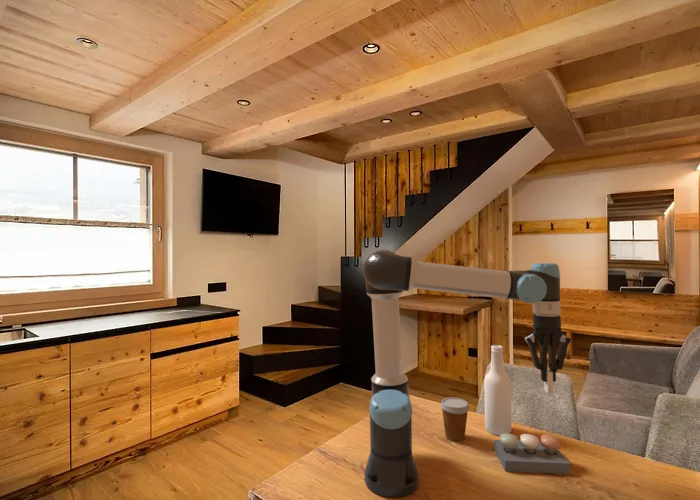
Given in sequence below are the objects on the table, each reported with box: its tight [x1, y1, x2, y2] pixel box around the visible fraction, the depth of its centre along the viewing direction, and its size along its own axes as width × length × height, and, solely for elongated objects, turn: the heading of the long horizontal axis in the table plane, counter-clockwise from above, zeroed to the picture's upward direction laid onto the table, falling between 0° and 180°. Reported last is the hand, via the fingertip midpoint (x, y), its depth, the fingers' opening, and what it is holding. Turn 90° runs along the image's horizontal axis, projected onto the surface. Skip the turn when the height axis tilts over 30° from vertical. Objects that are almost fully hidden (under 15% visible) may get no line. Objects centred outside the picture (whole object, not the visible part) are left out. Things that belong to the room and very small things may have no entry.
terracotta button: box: [540, 434, 561, 455], centre depth 114 cm, size 5×5×5 cm
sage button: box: [499, 433, 519, 453], centre depth 115 cm, size 5×5×5 cm
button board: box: [493, 439, 571, 475], centre depth 115 cm, size 18×12×3 cm, turn 84°
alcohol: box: [483, 344, 512, 437], centre depth 134 cm, size 9×9×30 cm
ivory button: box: [519, 433, 540, 454], centre depth 115 cm, size 5×5×5 cm
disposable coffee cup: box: [440, 397, 470, 442], centre depth 129 cm, size 10×10×12 cm
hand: (548, 391), depth 114 cm, fingers closed
